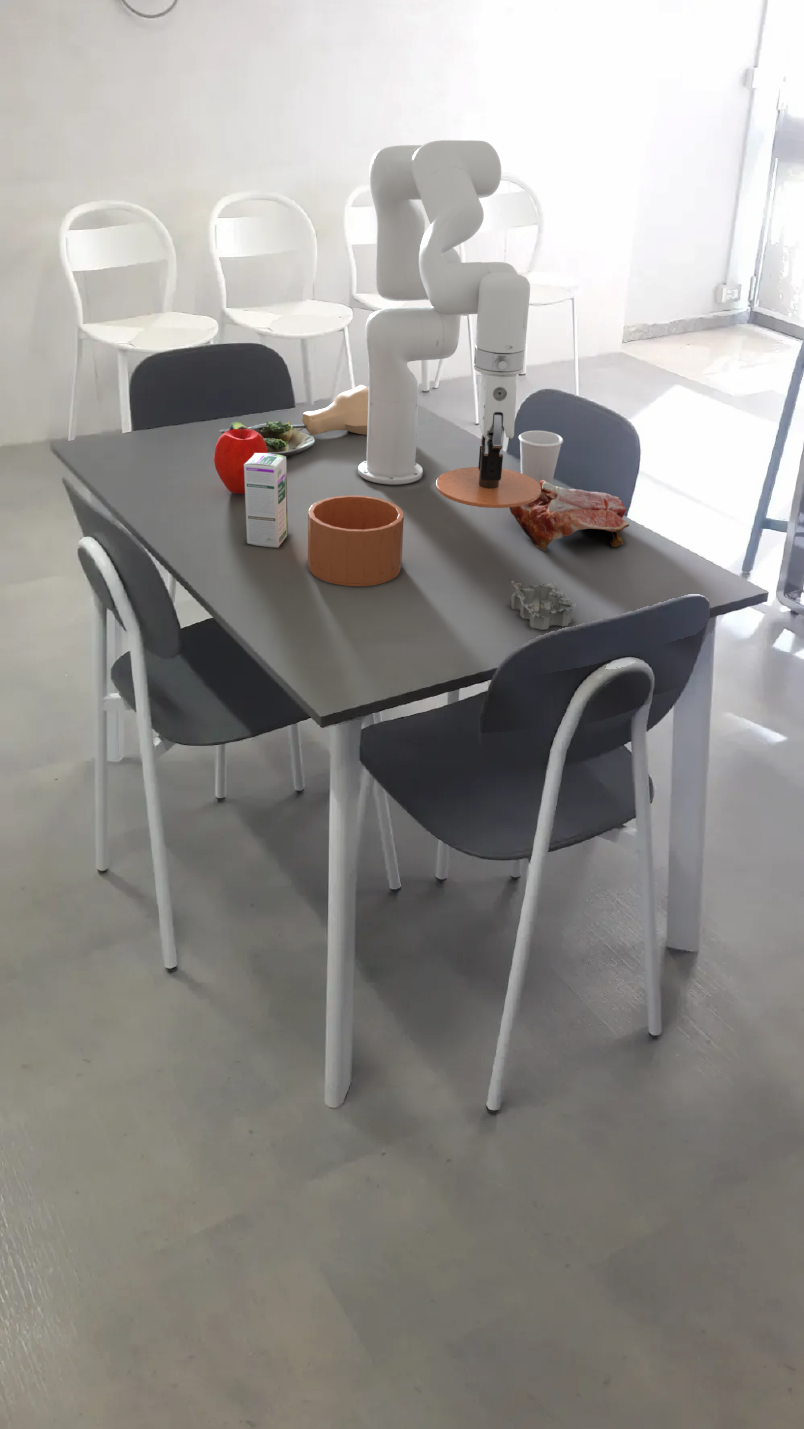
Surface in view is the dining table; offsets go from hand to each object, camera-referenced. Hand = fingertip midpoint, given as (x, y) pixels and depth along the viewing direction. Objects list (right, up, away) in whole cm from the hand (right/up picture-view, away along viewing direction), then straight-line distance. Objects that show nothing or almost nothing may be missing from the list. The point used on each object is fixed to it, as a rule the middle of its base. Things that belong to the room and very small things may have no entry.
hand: (489, 474), depth 200 cm
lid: (0, -2, +1) cm, 2 cm away
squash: (-25, +22, +67) cm, 75 cm away
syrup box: (-37, -9, +15) cm, 41 cm away
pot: (-22, -14, +8) cm, 27 cm away
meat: (+16, -6, +25) cm, 30 cm away
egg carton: (+8, -23, -5) cm, 25 cm away
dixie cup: (+12, +5, +43) cm, 45 cm away
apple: (-44, +3, +34) cm, 56 cm away
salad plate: (-42, +16, +56) cm, 72 cm away
